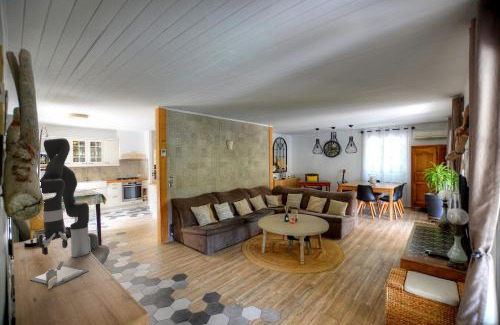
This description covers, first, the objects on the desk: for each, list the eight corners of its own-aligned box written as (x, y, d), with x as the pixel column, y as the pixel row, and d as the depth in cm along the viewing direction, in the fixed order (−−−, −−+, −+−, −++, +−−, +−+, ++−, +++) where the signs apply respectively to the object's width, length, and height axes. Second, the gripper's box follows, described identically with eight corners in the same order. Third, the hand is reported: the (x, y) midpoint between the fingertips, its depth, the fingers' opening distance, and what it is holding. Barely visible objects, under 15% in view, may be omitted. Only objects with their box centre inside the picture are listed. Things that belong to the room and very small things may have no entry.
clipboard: (64, 266, 134) (64, 263, 134) (88, 271, 127) (88, 268, 127) (29, 280, 119) (29, 276, 119) (55, 286, 112) (55, 283, 112)
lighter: (46, 281, 115) (45, 265, 115) (46, 280, 117) (45, 264, 117) (64, 276, 120) (64, 261, 120) (64, 275, 121) (63, 259, 121)
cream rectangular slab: (55, 283, 115) (55, 276, 115) (56, 283, 115) (56, 275, 115) (48, 288, 110) (48, 281, 110) (50, 288, 110) (49, 281, 110)
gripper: (63, 215, 126) (65, 245, 126) (31, 222, 112) (33, 256, 113) (73, 215, 123) (75, 246, 124) (41, 223, 110) (43, 258, 110)
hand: (55, 251), depth 118 cm, fingers open, 8 cm apart
